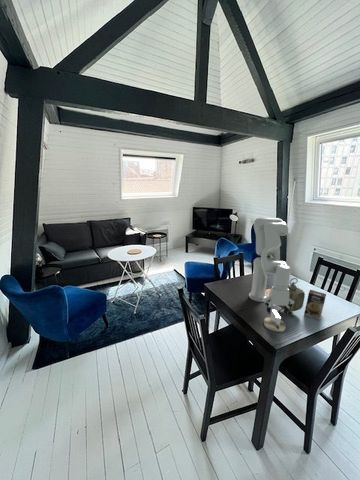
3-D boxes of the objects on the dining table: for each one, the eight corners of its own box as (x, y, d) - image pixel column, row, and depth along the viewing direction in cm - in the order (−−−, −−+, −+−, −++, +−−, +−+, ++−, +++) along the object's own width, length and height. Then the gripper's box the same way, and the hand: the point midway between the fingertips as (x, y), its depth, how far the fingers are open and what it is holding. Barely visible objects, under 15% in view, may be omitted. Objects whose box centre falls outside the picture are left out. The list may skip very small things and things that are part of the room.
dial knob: (270, 318, 128) (271, 309, 127) (274, 318, 128) (275, 309, 127) (276, 328, 119) (277, 319, 118) (280, 328, 119) (282, 319, 118)
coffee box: (303, 314, 136) (308, 292, 132) (305, 310, 141) (309, 289, 137) (320, 320, 130) (325, 297, 126) (321, 315, 135) (326, 293, 131)
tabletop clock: (290, 307, 144) (296, 274, 138) (302, 314, 136) (309, 279, 130) (274, 311, 139) (280, 277, 132) (286, 319, 131) (292, 283, 124)
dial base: (261, 318, 131) (261, 316, 131) (280, 319, 130) (281, 317, 130) (267, 331, 120) (267, 328, 119) (288, 332, 119) (289, 330, 118)
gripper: (293, 284, 121) (289, 310, 125) (263, 282, 122) (260, 308, 126) (299, 290, 114) (295, 317, 118) (267, 288, 115) (263, 315, 119)
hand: (276, 313), depth 122 cm, fingers open, 9 cm apart
